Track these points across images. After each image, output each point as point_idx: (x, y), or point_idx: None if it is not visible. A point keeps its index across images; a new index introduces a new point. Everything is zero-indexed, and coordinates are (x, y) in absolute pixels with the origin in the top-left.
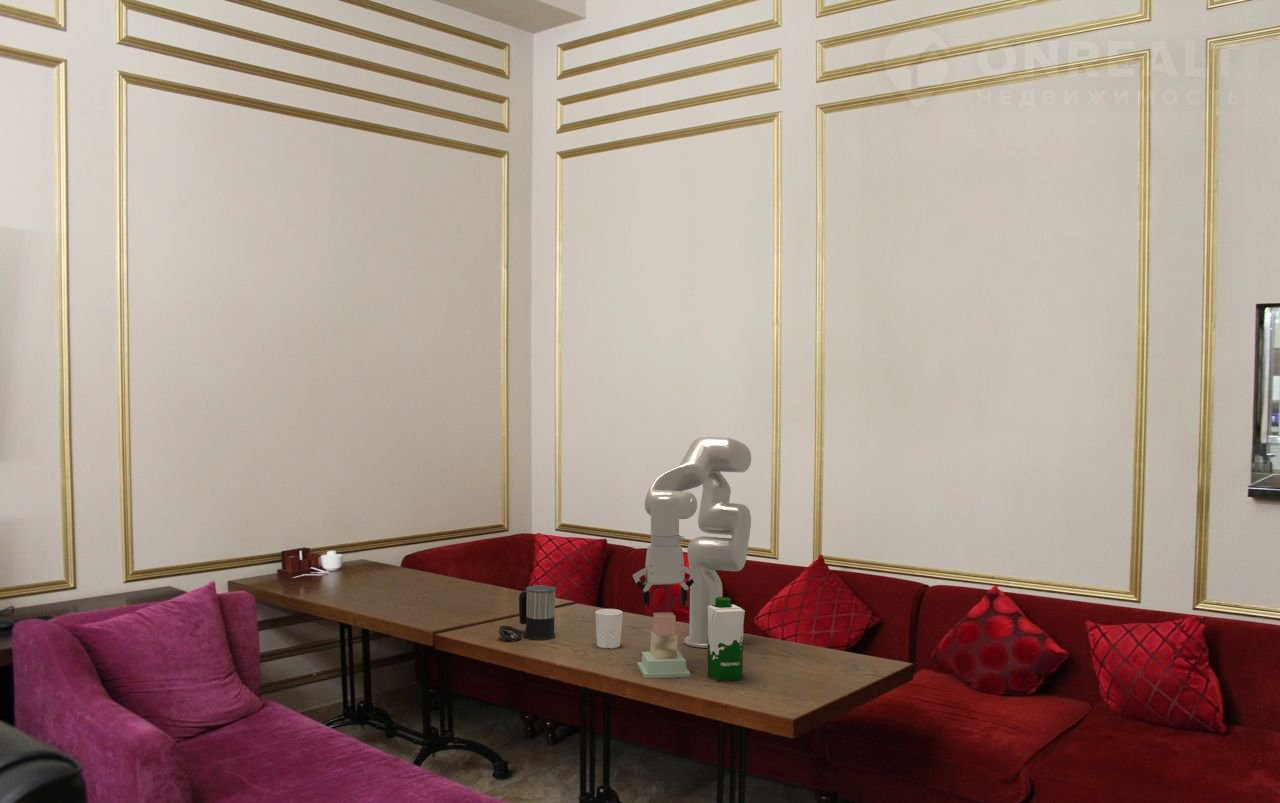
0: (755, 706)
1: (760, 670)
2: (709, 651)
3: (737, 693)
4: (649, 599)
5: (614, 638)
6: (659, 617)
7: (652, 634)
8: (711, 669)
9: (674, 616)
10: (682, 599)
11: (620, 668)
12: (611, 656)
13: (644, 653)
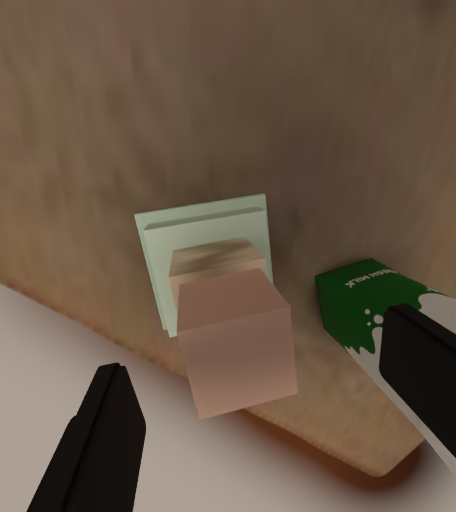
0: (351, 444)
1: (436, 234)
2: (347, 340)
3: (341, 391)
4: (135, 488)
5: None
6: (212, 412)
7: (177, 312)
8: (326, 315)
9: (291, 394)
10: (409, 406)
11: (87, 242)
12: (24, 83)
13: (152, 250)
